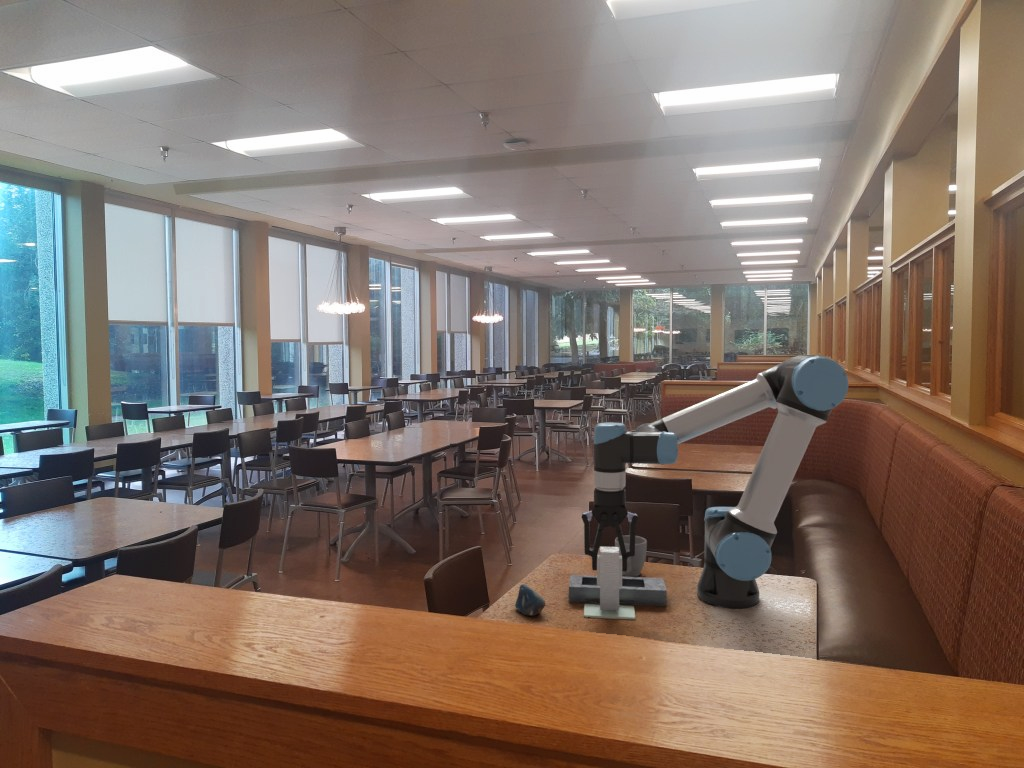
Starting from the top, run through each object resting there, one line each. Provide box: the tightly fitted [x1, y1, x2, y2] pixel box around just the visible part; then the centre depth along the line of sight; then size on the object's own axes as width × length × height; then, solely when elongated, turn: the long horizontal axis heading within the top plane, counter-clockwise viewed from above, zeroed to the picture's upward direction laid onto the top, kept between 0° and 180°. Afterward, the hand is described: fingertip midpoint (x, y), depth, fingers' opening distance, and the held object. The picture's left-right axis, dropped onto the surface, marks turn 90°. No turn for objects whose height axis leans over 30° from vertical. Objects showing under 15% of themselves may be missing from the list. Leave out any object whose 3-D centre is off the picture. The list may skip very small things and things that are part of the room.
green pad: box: [583, 603, 636, 621], centre depth 165 cm, size 12×7×1 cm, turn 82°
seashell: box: [514, 583, 546, 617], centre depth 167 cm, size 6×9×10 cm
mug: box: [614, 534, 648, 577], centre depth 191 cm, size 12×9×10 cm
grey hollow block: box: [568, 574, 668, 607], centre depth 175 cm, size 24×9×4 cm, turn 82°
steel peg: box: [599, 545, 620, 611], centre depth 165 cm, size 4×4×14 cm
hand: (609, 583), depth 165 cm, fingers closed on steel peg, 4 cm apart
